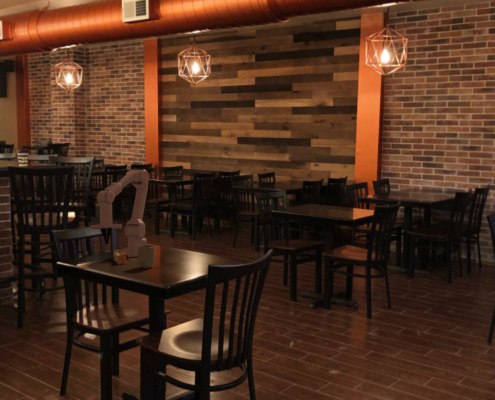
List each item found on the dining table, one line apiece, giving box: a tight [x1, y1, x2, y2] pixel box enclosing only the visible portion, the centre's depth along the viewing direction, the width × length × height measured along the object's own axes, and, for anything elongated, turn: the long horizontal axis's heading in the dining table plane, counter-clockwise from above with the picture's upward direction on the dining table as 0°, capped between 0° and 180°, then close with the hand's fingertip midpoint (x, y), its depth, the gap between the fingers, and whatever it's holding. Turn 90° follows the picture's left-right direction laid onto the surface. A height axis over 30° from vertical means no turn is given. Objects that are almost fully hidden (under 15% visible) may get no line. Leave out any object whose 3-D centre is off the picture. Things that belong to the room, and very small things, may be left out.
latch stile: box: [120, 252, 128, 265], centre depth 282 cm, size 3×3×5 cm
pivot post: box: [112, 249, 120, 261], centre depth 291 cm, size 3×3×5 cm
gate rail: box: [114, 251, 123, 265], centre depth 284 cm, size 11×2×4 cm, turn 20°
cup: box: [137, 244, 156, 269], centre depth 271 cm, size 8×8×10 cm
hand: (106, 243), depth 284 cm, fingers closed
